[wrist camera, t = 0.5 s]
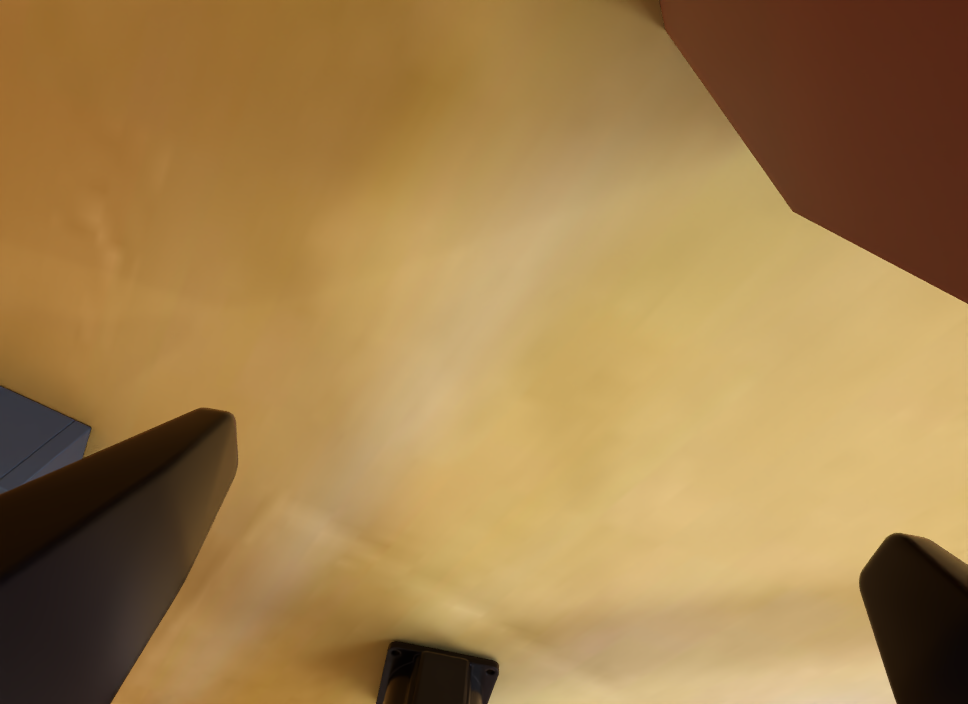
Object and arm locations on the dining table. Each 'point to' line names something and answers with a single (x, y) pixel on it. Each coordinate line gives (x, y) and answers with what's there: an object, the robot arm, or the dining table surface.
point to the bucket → (849, 115)
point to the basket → (35, 440)
